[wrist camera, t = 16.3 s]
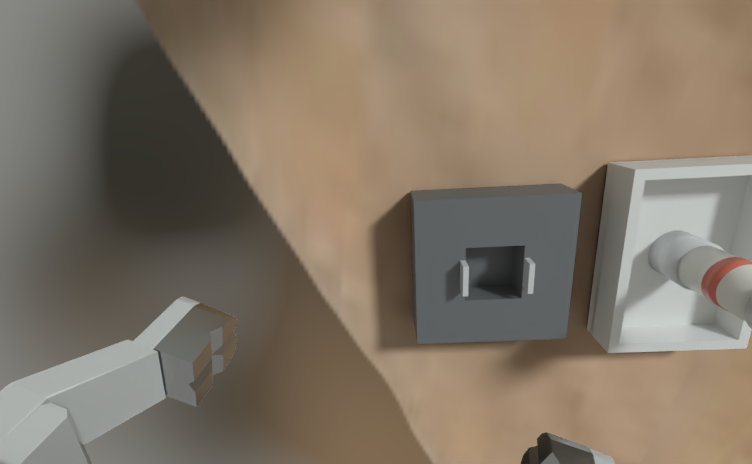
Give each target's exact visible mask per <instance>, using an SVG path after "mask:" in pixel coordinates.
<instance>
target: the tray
mask: <svg viewBox="0 0 752 464" xmlns="http://www.w3.org/2000/svg"><path fill="white" fill-rule="evenodd" d="M675 230H680V231H685V232H687V233H690V234H692V235H695V236H697V237H699V238H702V239H704V240H707V241H709V242H711V243H714V244H716V245H718V246H720V247H721V248H723V249H724V251H725V252H728V253H730V254H732V255H735V256H737V257H741V258H744V259H746V260H749V261H751V262H752V155H748V156H728V157H708V158H689V159H669V160H649V161H629V162H609V163H608V167H607V175H606V183H605V190H604V198H603V206H602V214H601V222H600V230H599V237H598V245H597V253H596V261H595V269H594V277H593V284H592V292H591V300H590V308H589V316H588V324H587V331H588V332H589V333H590V334H591V335H592V336H593V337H594V338H595V339H596V341H597V342H598V343H599V344H600V345H601V346H602V347H603V348H604V349H605V350H606V352H607V353H626V352H655V351H683V350H712V349H740V348H747V345H748V341H749V338H750V334H751V330H752V329H751V328H750V327H749V326H748V324H747V322H745V321H744V320H742V319H740V318H739V317H737V316H735V315H734V314H732V313H730V312H729V311H726V310H724V309H722V308H720V307H719V306H717V305H715V304H714V303H712V302H710V301H709V300H707V299H706V298H705V297H704V296H702V295H700V294H698V293H697V292H695V291H693V290H688V289H685V288H683V287H681V286H680V285H678V284H676V283H675V282H673V281H671V280H670V279H668V278H667V277H665V276H663V275H662V274H660V273H658V272H657V271H655V270H654V269H653V268H652V267H651V266H650V264H649V260H648V253H649V250H650V247H651V246H652V244H653V243H654V241H655V240H656V239H657V238H658V237H660V236H661V235H663V234H665V233H667V232H670V231H675Z"/></svg>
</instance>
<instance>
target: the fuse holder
mask: <svg viewBox="0 0 752 464" xmlns="http://www.w3.org/2000/svg"><path fill="white" fill-rule="evenodd" d="M581 200H582V193H581V192H579V191H577V190H574V189H572V188H570V187H567V186H565V185H563V184H544V185H524V186H503V187H483V188H462V189H442V190H422V191H411V225H412V263H413V300H414V325H415V332H416V338H417V344H436V343H464V342H491V341H519V340H546V339H566V336H567V327H568V318H569V309H570V300H571V291H572V282H573V272H574V263H575V254H576V245H577V236H578V227H579V218H580V209H581Z"/></svg>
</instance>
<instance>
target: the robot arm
mask: <svg viewBox="0 0 752 464" xmlns="http://www.w3.org/2000/svg"><path fill="white" fill-rule="evenodd" d="M236 319H237V318H236V317H234V316H232V315H229V314H227V313H224V312H222V311H219V310H216V309H214V308H212V307H209V306H207V305H204V304H202V303H199V302H197V301H194V300H191V299H189V298H186V297H181V298H179V299H177V300H175V301H174V302H173V303H172V304H171V305H170V306H169V307H168V308H167V309H166V310H165V311H164V312H163V313H162V314H161V315H160V316H159V317H158V318H157V319H156V320H155V321H153V322H152V323H151V324H150V325H149V326H148V327H147V328H146V329H145V330H144V331H143V332H142V333H141V334H140V335H139V336H138V337H137V338H136V339H135V340H134V341H131V340H128V339H127V340H125V341H122V342H120V343H117V344H114V345H112V346H109V347H106V348H103V349H100V350H98V351H95V352H92V353H90V354H87V355H84V356H82V357H79V358H77V359H74V360H71V361H68V362H66V363H63V364H60V365H57V366H55V367H52V368H49V369H47V370H44V371H41V372H39V373H36V374H33V375H31V376H28V377H26V378H23V379H20V380H17V381H14V382H12V383H10V384H9V385H7V386H6V387H5V388H4V389H2V390H1V391H0V464H91V461H90V459H89V457H88V455H87V452H86V450H85V448H84V445H85V444H87V443H89V442H91V441H92V440H94V439H95V438H97V437H99V436H101V435H102V434H104V433H106V432H108V431H109V430H111V429H113V428H115V427H116V426H118V425H120V424H122V423H123V422H125V421H127V420H128V419H130V418H132V417H134V416H135V415H137V414H139V413H141V412H142V411H144V410H146V409H147V408H149V407H151V406H152V405H154V404H156V403H158V402H160V401H161V400H163V399H165V398H166V396H168V397H171V398H173V399H176V400H179V401H182V402H184V403H187V404H190V405H193V406H195V407H197V406H198V405H199V403H200V402H201V400H202V399H203V398H204V396H205V395H206V394H207V392H208V391H209V390H210V388H211V387H212V385H213V375H215V374H217V373H219V372H221V371H223V370H224V369H225V367H226V366H227V364H228V363H229V361H230V360H231V357H232V355H233V353H234V351H235V347H236V344H237V337H236V335H235V333H234V332H233V330H234V329H235V328H236V326H237V320H236ZM537 445H538V446H535V447H530V448H528V450H527V451H526V452H525V453H524V455H523V458H522V461H521V464H615V462H614V461H613V459H612V458H611V457H610V456H608V455H606V454H603V453H601V452H598V451H595V450H592V449H589V448H587V447H586V446H583V445H580V444H578V443H575V442H572V441H569V440H566V439H563V438H561V437H558V436H555V435H552V434H549V433H547V432H546V433H542V434H541V435H540V436H539V437H538V438H537Z"/></svg>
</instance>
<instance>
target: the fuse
mask: <svg viewBox="0 0 752 464" xmlns="http://www.w3.org/2000/svg"><path fill="white" fill-rule="evenodd" d="M648 260H649V264H650V266H651V267H652V268H653V269H654V270H655V271H657V272H658V273H660V274H662V275H663V276H665V277H667V278H668V279H670V280H671V281H673V282H675V283H676V284H678V285H680V286H681V287H683V288H685V289H688V290H693V291H695V292H697V293H698V294H700V295H702V296H704V297H705V298H706V299H707V300H709V301H710V302H712V303H714V304H715V305H717V306H719V307H720V308H722V309H724V310H726V311H729V312H730V313H732V314H734V315H735V316H737V317H739V318H740V319H742V320H744V321H745V322H747V324H748V326H749V327H750V328H751V329H752V262H751V261H749V260H746V259H744V258H741V257H737V256H735V255H732V254H730V253H728V252H725V251H724V249H723V248H721V247H720V246H718V245H716V244H714V243H711V242H709V241H707V240H704V239H702V238H699V237H697V236H695V235H692V234H690V233H687V232H685V231H680V230H675V231H670V232H667V233H665V234H663V235H661V236H660V237H658V238H657V239H656V240H655V241H654V243H653V244H652V246H651V247H650V250H649V253H648Z"/></svg>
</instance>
